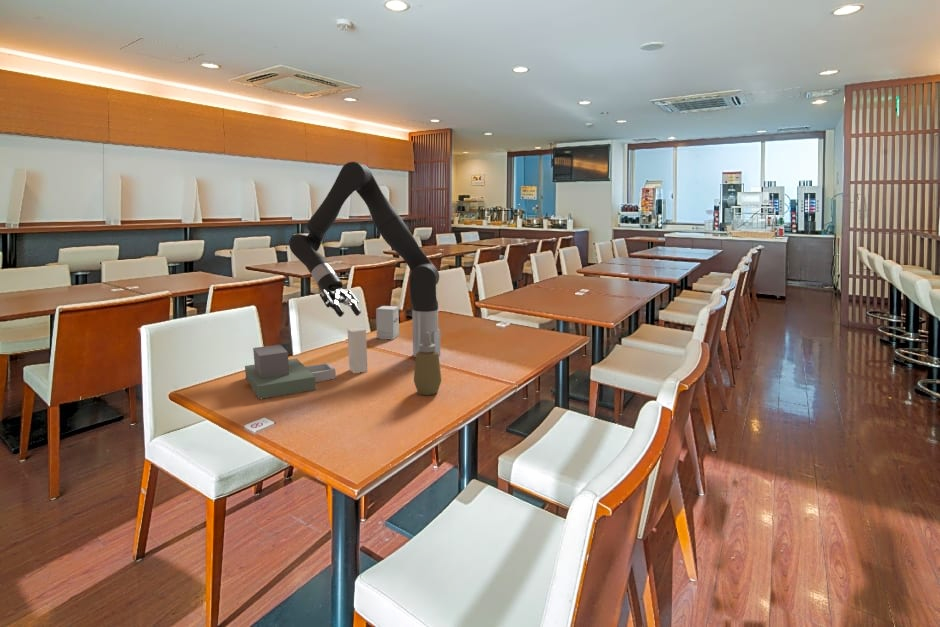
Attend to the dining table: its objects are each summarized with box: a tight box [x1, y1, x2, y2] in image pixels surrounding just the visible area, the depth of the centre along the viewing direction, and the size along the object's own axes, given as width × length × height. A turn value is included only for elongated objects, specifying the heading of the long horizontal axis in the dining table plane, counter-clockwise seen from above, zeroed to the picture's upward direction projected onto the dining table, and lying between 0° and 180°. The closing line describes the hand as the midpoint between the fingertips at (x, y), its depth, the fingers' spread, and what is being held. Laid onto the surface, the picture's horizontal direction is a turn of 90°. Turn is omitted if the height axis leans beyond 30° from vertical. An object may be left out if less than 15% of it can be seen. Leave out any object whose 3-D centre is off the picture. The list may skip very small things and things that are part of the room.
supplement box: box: [375, 305, 400, 341], centre depth 217 cm, size 7×7×13 cm
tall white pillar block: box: [347, 327, 368, 374], centre depth 173 cm, size 5×5×14 cm
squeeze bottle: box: [413, 332, 442, 396], centre depth 153 cm, size 8×8×18 cm
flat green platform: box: [244, 344, 337, 400], centre depth 163 cm, size 24×22×11 cm
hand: (350, 314), depth 180 cm, fingers open, 8 cm apart
